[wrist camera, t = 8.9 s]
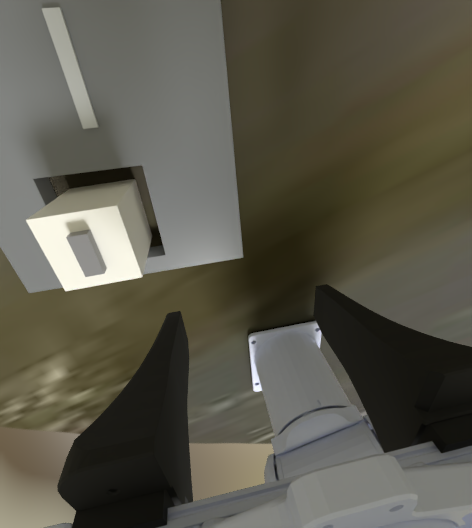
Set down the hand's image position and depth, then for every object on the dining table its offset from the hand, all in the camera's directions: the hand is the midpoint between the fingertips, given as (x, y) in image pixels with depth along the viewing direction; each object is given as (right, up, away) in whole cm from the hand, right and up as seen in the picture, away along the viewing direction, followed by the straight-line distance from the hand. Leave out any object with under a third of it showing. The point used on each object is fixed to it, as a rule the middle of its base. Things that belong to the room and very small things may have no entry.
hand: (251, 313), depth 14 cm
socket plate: (-9, +10, +4) cm, 14 cm away
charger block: (-10, +6, +6) cm, 13 cm away
